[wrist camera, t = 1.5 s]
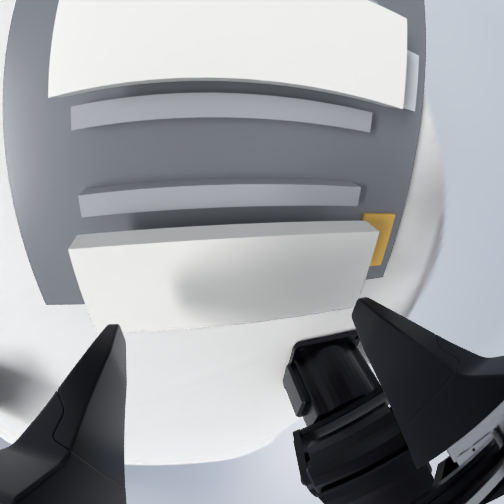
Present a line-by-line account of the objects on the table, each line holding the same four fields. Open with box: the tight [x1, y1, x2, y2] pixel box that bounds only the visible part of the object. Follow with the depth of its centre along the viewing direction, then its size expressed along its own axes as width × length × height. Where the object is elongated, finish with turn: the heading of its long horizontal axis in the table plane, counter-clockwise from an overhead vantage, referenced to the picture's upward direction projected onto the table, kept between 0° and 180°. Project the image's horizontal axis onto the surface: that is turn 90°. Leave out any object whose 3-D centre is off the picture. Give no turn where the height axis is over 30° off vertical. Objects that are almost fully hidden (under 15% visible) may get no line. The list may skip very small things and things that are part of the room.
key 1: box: [68, 221, 379, 333], centre depth 12 cm, size 13×4×1 cm, turn 86°
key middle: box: [48, 0, 407, 109], centre depth 7 cm, size 13×4×1 cm, turn 86°
